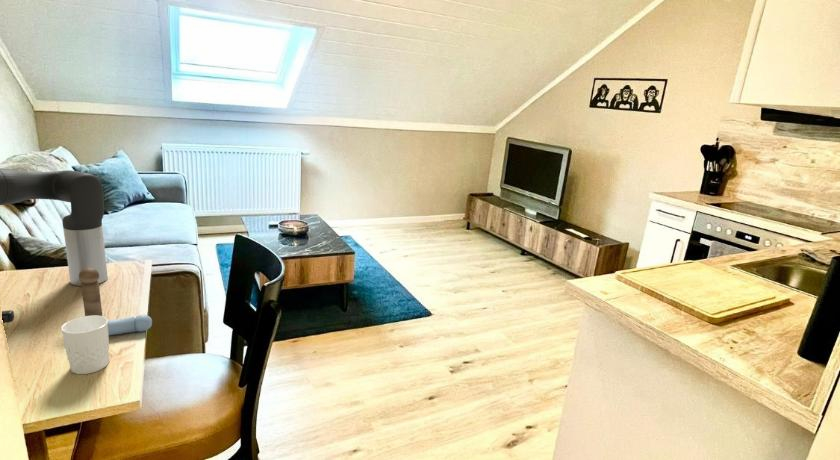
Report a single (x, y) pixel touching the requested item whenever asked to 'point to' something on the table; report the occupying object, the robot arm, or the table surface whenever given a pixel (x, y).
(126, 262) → the table surface
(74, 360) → the white cup
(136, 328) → the blue pin
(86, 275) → the walnut pin
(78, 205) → the robot arm
